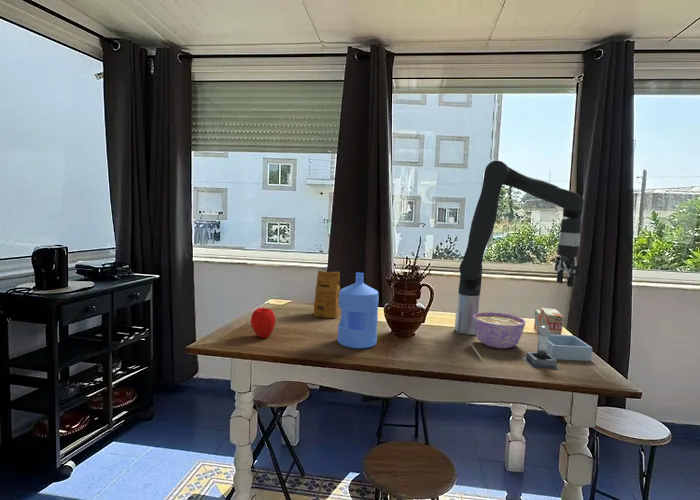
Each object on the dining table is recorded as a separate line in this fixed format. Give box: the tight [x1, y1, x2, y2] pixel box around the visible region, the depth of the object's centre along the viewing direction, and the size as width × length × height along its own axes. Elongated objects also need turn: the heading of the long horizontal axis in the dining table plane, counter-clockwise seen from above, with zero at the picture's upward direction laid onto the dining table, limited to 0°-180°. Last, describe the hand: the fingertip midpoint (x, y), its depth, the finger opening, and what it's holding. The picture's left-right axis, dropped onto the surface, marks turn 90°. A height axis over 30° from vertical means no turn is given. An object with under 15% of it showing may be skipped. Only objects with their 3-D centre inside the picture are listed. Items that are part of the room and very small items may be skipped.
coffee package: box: [313, 269, 341, 319], centre depth 208 cm, size 10×12×22 cm
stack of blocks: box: [533, 307, 564, 335], centre depth 189 cm, size 21×6×12 cm, turn 169°
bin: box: [536, 333, 593, 362], centre depth 165 cm, size 14×14×6 cm
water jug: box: [337, 271, 379, 350], centre depth 169 cm, size 16×16×28 cm
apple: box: [250, 307, 276, 339], centre depth 173 cm, size 10×10×12 cm
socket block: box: [521, 351, 562, 370], centre depth 153 cm, size 10×10×4 cm
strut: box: [535, 326, 550, 359], centre depth 153 cm, size 4×4×14 cm
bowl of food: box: [473, 311, 527, 349], centre depth 172 cm, size 20×20×12 cm
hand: (564, 284), depth 172 cm, fingers open, 8 cm apart
